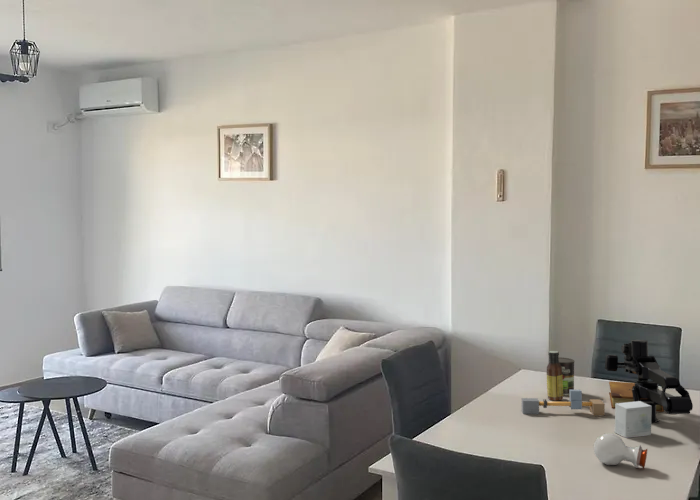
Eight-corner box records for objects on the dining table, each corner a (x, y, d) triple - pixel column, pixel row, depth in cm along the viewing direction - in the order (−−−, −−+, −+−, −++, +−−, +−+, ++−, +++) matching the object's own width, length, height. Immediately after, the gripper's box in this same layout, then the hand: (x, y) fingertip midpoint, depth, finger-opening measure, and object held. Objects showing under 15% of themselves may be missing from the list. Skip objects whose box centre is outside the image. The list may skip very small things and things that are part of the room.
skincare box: (626, 438, 230) (626, 408, 230) (614, 432, 237) (614, 403, 236) (652, 435, 233) (652, 405, 233) (639, 429, 239) (639, 400, 239)
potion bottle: (591, 464, 212) (643, 478, 204) (588, 454, 204) (642, 468, 197) (597, 435, 215) (648, 448, 208) (595, 425, 208) (648, 438, 201)
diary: (664, 413, 260) (664, 398, 259) (611, 410, 265) (611, 395, 265) (657, 397, 281) (657, 383, 281) (609, 394, 287) (609, 380, 287)
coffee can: (574, 396, 283) (574, 363, 283) (549, 394, 286) (548, 361, 286) (574, 390, 293) (574, 357, 292) (549, 388, 296) (549, 356, 296)
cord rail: (600, 411, 262) (600, 397, 262) (604, 415, 256) (604, 402, 256) (521, 410, 265) (521, 397, 265) (523, 414, 259) (523, 401, 259)
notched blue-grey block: (579, 406, 262) (579, 389, 261) (581, 409, 258) (581, 391, 258) (569, 406, 262) (569, 389, 262) (571, 409, 259) (571, 391, 258)
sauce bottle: (561, 397, 282) (561, 350, 281) (564, 401, 276) (564, 353, 275) (545, 397, 283) (545, 350, 282) (548, 401, 277) (548, 353, 276)
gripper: (663, 347, 259) (646, 343, 274) (613, 343, 259) (600, 339, 275) (661, 376, 258) (645, 370, 274) (612, 372, 259) (598, 367, 274)
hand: (622, 361), depth 274 cm, fingers open, 9 cm apart
